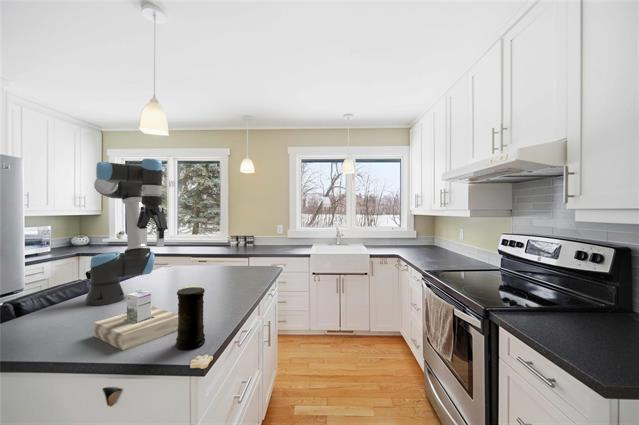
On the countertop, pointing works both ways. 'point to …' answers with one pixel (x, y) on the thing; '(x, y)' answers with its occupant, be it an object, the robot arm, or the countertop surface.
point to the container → (190, 318)
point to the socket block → (135, 329)
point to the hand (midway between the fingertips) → (151, 245)
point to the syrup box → (138, 306)
